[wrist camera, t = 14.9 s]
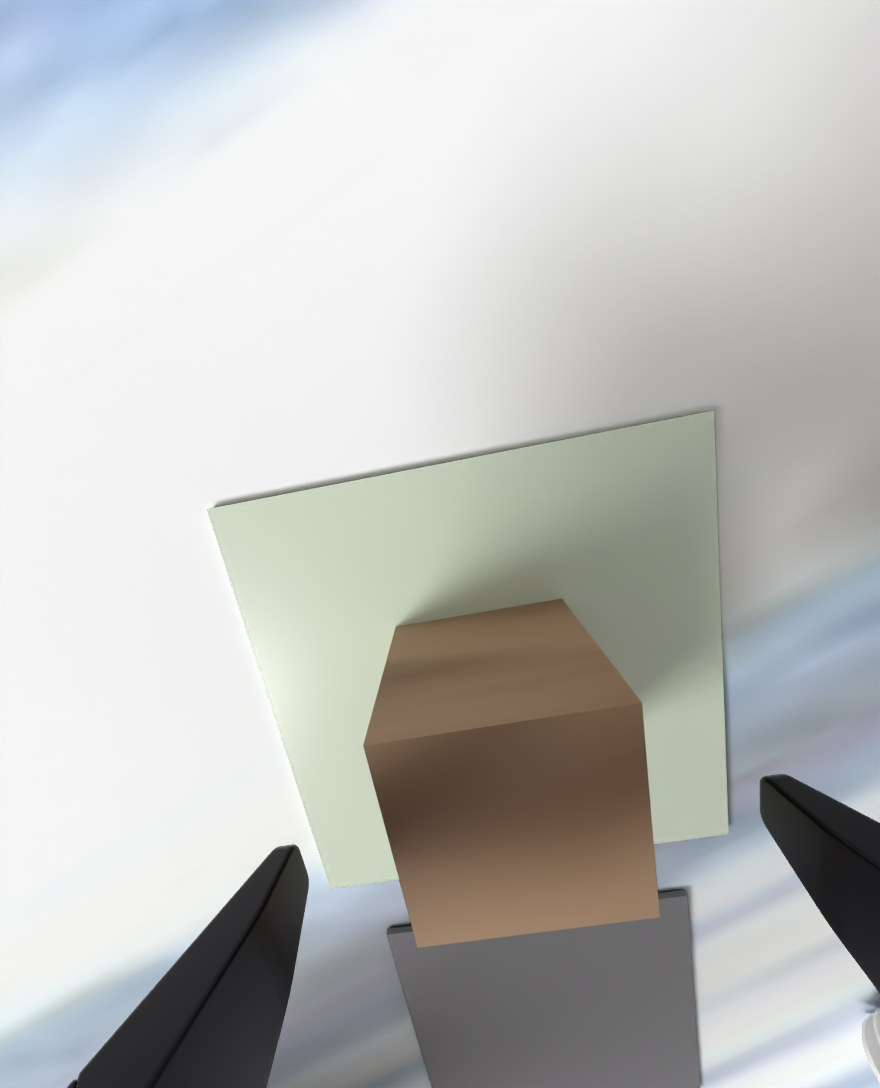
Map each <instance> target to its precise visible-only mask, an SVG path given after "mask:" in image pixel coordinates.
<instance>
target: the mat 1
mask: <svg viewBox="0 0 880 1088" xmlns="http://www.w3.org/2000/svg"><path fill="white" fill-rule="evenodd" d="M207 511H208V514H209V517H210V520H211V523H212V526H213V529H214V532H215V535H216V538H217V541H218V545H219V548H220V551H221V554H222V557H223V560H224V563H225V566H226V569H227V572H228V575H229V578H230V581H231V584H232V587H233V591H234V594H235V597H236V600H237V603H238V606H239V609H240V612H241V615H242V618H243V621H244V624H245V627H246V630H247V633H248V636H249V640H250V643H251V646H252V649H253V652H254V655H255V658H256V661H257V664H258V667H259V670H260V673H261V676H262V679H263V682H264V685H265V689H266V692H267V695H268V698H269V701H270V704H271V707H272V710H273V713H274V716H275V719H276V722H277V725H278V728H279V731H280V734H281V738H282V741H283V744H284V747H285V750H286V753H287V756H288V759H289V762H290V765H291V768H292V771H293V774H294V777H295V780H296V784H297V787H298V790H299V793H300V796H301V799H302V802H303V805H304V808H305V811H306V814H307V817H308V820H309V823H310V826H311V829H312V833H313V836H314V839H315V842H316V845H317V848H318V851H319V854H320V857H321V860H322V863H323V866H324V869H325V872H326V875H327V878H328V882H329V885H330V888H331V889H334V888H341V887H349V886H356V885H363V884H370V883H378V882H385V881H392V880H399V877H398V873H397V870H396V866H395V862H394V859H393V855H392V851H391V847H390V844H389V840H388V836H387V833H386V829H385V825H384V822H383V818H382V814H381V810H380V807H379V803H378V799H377V796H376V792H375V788H374V785H373V781H372V777H371V773H370V770H369V766H368V762H367V759H366V755H365V751H364V747H363V744H364V740H365V737H366V733H367V729H368V726H369V722H370V719H371V715H372V711H373V708H374V704H375V700H376V697H377V693H378V689H379V686H380V682H381V678H382V675H383V671H384V667H385V664H386V660H387V656H388V653H389V649H390V645H391V642H392V638H393V634H394V631H395V627H397V626H403V625H409V624H414V623H420V622H426V621H432V620H438V619H444V618H450V617H456V616H462V615H467V614H473V613H479V612H485V611H491V610H497V609H503V608H509V607H515V606H520V605H526V604H532V603H538V602H544V601H550V600H556V599H563V600H564V602H565V603H566V604H567V606H568V607H569V608H570V610H571V611H572V612H573V614H574V615H575V616H576V617H577V619H578V620H579V621H580V623H581V624H582V625H583V627H584V628H585V629H586V630H587V632H588V633H589V634H590V636H591V637H592V638H593V640H594V641H595V642H596V643H597V645H598V646H599V647H600V649H601V650H602V651H603V653H604V654H605V655H606V656H607V658H608V659H609V660H610V662H611V663H612V664H613V666H614V667H615V668H616V669H617V671H618V672H619V673H620V675H621V676H622V677H623V679H624V680H625V681H626V683H627V684H628V685H629V686H630V688H631V689H632V690H633V692H634V693H635V694H636V696H637V697H638V698H639V699H640V701H641V702H642V708H643V720H644V732H645V744H646V756H647V768H648V781H649V793H650V805H651V817H652V829H653V841H654V844H660V843H667V842H674V841H682V840H689V839H696V838H703V837H711V836H718V835H725V834H729V832H728V803H727V774H726V744H725V715H724V686H723V657H722V628H721V598H720V569H719V540H718V511H717V482H716V452H715V423H714V411H708V412H703V413H698V414H693V415H688V416H682V417H677V418H672V419H667V420H662V421H657V422H652V423H646V424H641V425H636V426H631V427H626V428H621V429H616V430H610V431H605V432H600V433H595V434H590V435H585V436H580V437H575V438H569V439H564V440H559V441H554V442H549V443H544V444H539V445H533V446H528V447H523V448H518V449H513V450H508V451H503V452H497V453H492V454H487V455H482V456H477V457H472V458H467V459H462V460H456V461H451V462H446V463H441V464H436V465H431V466H426V467H420V468H415V469H410V470H405V471H400V472H395V473H390V474H384V475H379V476H374V477H369V478H364V479H359V480H354V481H349V482H343V483H338V484H333V485H328V486H323V487H318V488H313V489H307V490H302V491H297V492H292V493H287V494H282V495H277V496H271V497H266V498H261V499H256V500H251V501H246V502H241V503H236V504H230V505H225V506H220V507H215V508H210V509H207Z"/></svg>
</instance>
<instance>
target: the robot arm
mask: <svg viewBox="0 0 880 1088" xmlns="http://www.w3.org/2000/svg"><path fill="white" fill-rule="evenodd" d="M760 813H761V817H762V820H763V822H764V824H765V826H766V828H767V829H768V831H769V832H770V834H771V835H772V837H773V839H774V840H775V842H776V843H777V845H778V846H779V848H780V850H781V851H782V853H783V854H784V856H785V857H786V859H787V860H788V862H789V864H790V865H791V867H792V868H793V870H794V871H795V873H796V874H797V876H798V878H799V879H800V881H801V882H802V884H803V885H804V887H805V889H806V890H807V892H808V893H809V895H810V896H811V898H812V899H813V901H814V903H815V904H816V906H817V907H818V909H819V910H820V912H821V913H822V915H823V916H824V918H825V919H826V921H827V922H828V924H829V925H830V927H831V928H832V929H833V931H834V932H835V934H836V935H837V936H838V938H839V939H840V940H841V942H842V943H843V945H844V946H845V947H846V949H847V950H848V951H849V953H850V954H851V955H852V957H853V958H854V959H855V961H856V962H857V963H858V965H859V966H860V967H861V969H862V970H863V971H864V973H865V974H866V975H867V977H868V978H869V979H870V981H871V982H872V983H873V985H874V986H875V987H876V989H877V990H878V991H879V993H880V823H879V822H877V821H875V820H873V819H871V818H869V817H867V816H865V815H863V814H861V813H859V812H858V811H856V810H854V809H852V808H850V807H848V806H846V805H844V804H842V803H840V802H838V801H837V800H835V799H833V798H831V797H829V796H827V795H825V794H823V793H821V792H819V791H817V790H815V789H814V788H812V787H810V786H808V785H806V784H804V783H802V782H800V781H798V780H796V779H794V778H793V777H790V776H788V775H785V774H778V775H771V776H764V777H762V778H761V780H760ZM308 887H309V879H308V873H307V870H306V867H305V865H304V862H303V859H302V856H301V853H300V850H299V848H298V847H297V846H296V845H286V846H280V847H277V848H275V849H274V850H273V851H272V852H271V853H270V854H269V855H268V857H267V858H266V859H265V860H264V861H263V862H262V863H261V865H260V866H259V867H258V868H257V869H256V870H255V872H254V873H253V874H252V875H251V876H250V877H249V878H248V880H247V881H246V882H245V883H244V884H243V885H242V886H241V888H240V889H239V890H238V891H237V892H236V893H235V895H234V896H233V897H232V898H231V899H230V900H229V901H228V903H227V904H226V905H225V906H224V907H223V908H222V910H221V911H220V912H219V913H218V914H217V915H216V916H215V918H214V919H213V920H212V921H211V922H210V923H209V925H208V926H207V927H206V928H205V929H204V930H203V931H202V933H201V934H200V935H199V936H198V937H197V938H196V940H195V941H194V942H193V943H192V944H191V945H190V946H189V948H188V949H187V950H186V951H185V952H184V953H183V954H182V956H181V957H180V958H179V959H178V960H177V961H176V963H175V964H174V965H173V966H172V967H171V968H170V969H169V971H168V972H167V973H166V974H165V975H164V976H163V978H162V979H161V980H160V981H159V982H158V983H157V984H156V986H155V987H154V988H153V989H152V990H151V991H150V993H149V994H148V995H147V996H146V997H145V998H144V999H143V1001H142V1002H141V1003H140V1004H139V1005H138V1006H137V1008H136V1009H135V1010H134V1011H133V1012H132V1013H131V1014H130V1016H129V1017H128V1018H127V1019H126V1020H125V1021H124V1022H123V1024H122V1025H121V1026H120V1027H119V1028H118V1029H117V1031H116V1032H115V1033H114V1034H113V1035H112V1036H111V1037H110V1039H109V1040H108V1041H107V1042H106V1043H105V1044H104V1046H103V1047H102V1048H101V1049H100V1050H99V1051H98V1052H97V1054H96V1055H95V1056H94V1057H93V1058H92V1059H91V1061H90V1062H89V1063H88V1064H87V1065H86V1066H85V1067H84V1069H83V1070H82V1071H81V1072H80V1074H79V1076H78V1080H77V1079H76V1080H73V1081H72V1082H71V1083H70V1084H69V1086H68V1087H67V1088H266V1087H267V1083H268V1079H269V1075H270V1071H271V1067H272V1063H273V1059H274V1055H275V1051H276V1047H277V1044H278V1040H279V1036H280V1032H281V1028H282V1024H283V1020H284V1016H285V1012H286V1008H287V1004H288V999H289V995H290V991H291V985H292V980H293V975H294V969H295V964H296V958H297V952H298V946H299V940H300V935H301V929H302V923H303V917H304V912H305V906H306V900H307V894H308Z"/></svg>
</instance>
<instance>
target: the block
mask: <svg viewBox="0 0 880 1088" xmlns="http://www.w3.org/2000/svg"><path fill="white" fill-rule="evenodd" d="M363 747H364V751H365V755H366V759H367V762H368V766H369V770H370V773H371V777H372V781H373V785H374V788H375V792H376V796H377V799H378V803H379V807H380V810H381V814H382V818H383V822H384V825H385V829H386V833H387V836H388V840H389V844H390V847H391V851H392V855H393V859H394V862H395V866H396V870H397V873H398V877H399V881H400V885H401V888H402V892H403V896H404V899H405V903H406V907H407V910H408V914H409V918H410V922H411V925H412V929H413V933H414V936H415V940H416V944H417V947H418V948H419V947H427V946H435V945H443V944H451V943H459V942H467V941H475V940H483V939H491V938H499V937H507V936H515V935H523V934H531V933H539V932H547V931H555V930H562V929H570V928H578V927H586V926H594V925H602V924H610V923H618V922H626V921H634V920H642V919H650V918H658V917H660V913H659V901H658V889H657V877H656V865H655V853H654V841H653V829H652V817H651V805H650V793H649V781H648V768H647V756H646V744H645V732H644V720H643V708H642V702H641V701H640V699H639V698H638V697H637V696H636V694H635V693H634V692H633V690H632V689H631V688H630V686H629V685H628V684H627V683H626V681H625V680H624V679H623V677H622V676H621V675H620V673H619V672H618V671H617V669H616V668H615V667H614V666H613V664H612V663H611V662H610V660H609V659H608V658H607V656H606V655H605V654H604V653H603V651H602V650H601V649H600V647H599V646H598V645H597V643H596V642H595V641H594V640H593V638H592V637H591V636H590V634H589V633H588V632H587V630H586V629H585V628H584V627H583V625H582V624H581V623H580V621H579V620H578V619H577V617H576V616H575V615H574V614H573V612H572V611H571V610H570V608H569V607H568V606H567V604H566V603H565V602H564V600H563V599H556V600H550V601H544V602H538V603H532V604H526V605H520V606H515V607H509V608H503V609H497V610H491V611H485V612H479V613H473V614H467V615H462V616H456V617H450V618H444V619H438V620H432V621H426V622H420V623H414V624H409V625H403V626H397V627H395V631H394V634H393V638H392V642H391V645H390V649H389V653H388V656H387V660H386V664H385V667H384V671H383V675H382V678H381V682H380V686H379V689H378V693H377V697H376V700H375V704H374V708H373V711H372V715H371V719H370V722H369V726H368V729H367V733H366V737H365V740H364V744H363Z"/></svg>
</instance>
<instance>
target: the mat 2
mask: <svg viewBox="0 0 880 1088" xmlns="http://www.w3.org/2000/svg"><path fill="white" fill-rule="evenodd" d="M658 901H659V913H660V917H658V918H650V919H642V920H634V921H626V922H618V923H610V924H602V925H594V926H586V927H578V928H570V929H562V930H555V931H547V932H539V933H531V934H523V935H515V936H507V937H499V938H491V939H483V940H475V941H467V942H459V943H451V944H443V945H435V946H427V947H419V948H418V947H417V944H416V940H415V936H414V933H413V929H412V926H404V927H397V928H389V929H387V937H388V941H389V944H390V948H391V951H392V954H393V958H394V961H395V965H396V968H397V971H398V975H399V978H400V981H401V985H402V988H403V992H404V995H405V998H406V1002H407V1005H408V1009H409V1012H410V1015H411V1019H412V1022H413V1025H414V1029H415V1032H416V1036H417V1039H418V1042H419V1046H420V1049H421V1053H422V1056H423V1059H424V1063H425V1066H426V1069H427V1073H428V1076H429V1080H430V1083H431V1086H432V1088H700V1077H699V1062H698V1047H697V1032H696V1017H695V1002H694V986H693V971H692V956H691V941H690V926H689V911H688V896H687V894H686V892H685V890H678V891H670V892H663V893H658Z"/></svg>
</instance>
